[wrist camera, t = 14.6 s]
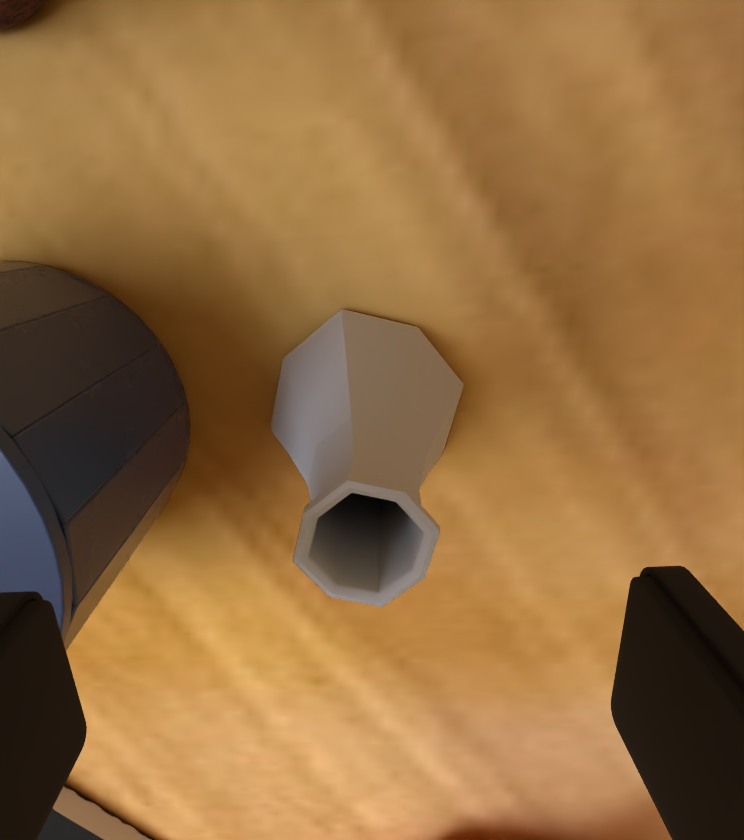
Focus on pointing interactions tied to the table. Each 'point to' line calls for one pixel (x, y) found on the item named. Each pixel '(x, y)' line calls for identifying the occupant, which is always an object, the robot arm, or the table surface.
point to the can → (16, 11)
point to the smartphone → (84, 821)
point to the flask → (365, 451)
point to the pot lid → (31, 536)
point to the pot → (89, 417)
